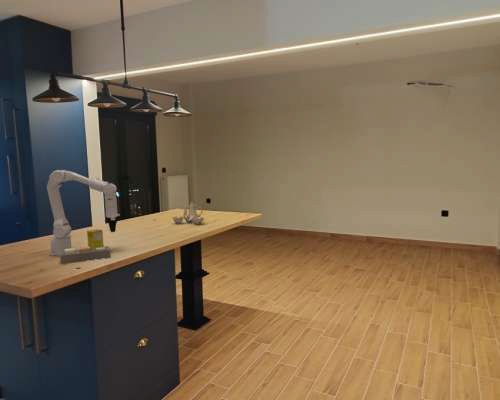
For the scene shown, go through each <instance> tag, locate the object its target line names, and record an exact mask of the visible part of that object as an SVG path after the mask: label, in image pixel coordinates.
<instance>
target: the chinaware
mask: <svg viewBox="0 0 500 400" xmlns="http://www.w3.org/2000/svg"><path fill="white" fill-rule="evenodd" d="M187 206H188V208H187ZM183 207H184V211H183V216H181V215H180V216H174V217H171V219H173V220H172V221H173V222H174V223H175V224H176V225H181V223H183V220H185V222H187V223H188V225H196V226H201V225H203V223H204V222H203V221H206V219H205V218H204V217H203V216H201V215H202V213H203V208H202V207H200V206H198V207H197V204H195V203H194V202H193V201H191V202H190V203H189V205H183ZM198 209H200V210H201V212H200V213H199V214H197V213H198V212H197V210H198ZM187 212H188V213H187Z"/></svg>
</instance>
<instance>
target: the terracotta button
mask: <svg viewBox="0 0 500 400" xmlns="http://www.w3.org/2000/svg"><path fill="white" fill-rule="evenodd" d="M79 249H80V251H81V252H88V251H90V246H89V247H88V246H82V247H79Z"/></svg>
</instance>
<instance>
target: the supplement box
mask: <svg viewBox="0 0 500 400" xmlns="http://www.w3.org/2000/svg"><path fill="white" fill-rule="evenodd" d="M86 234H87V247H89V246H90V248H96V247H105V246H104V235H103V230H102V229H99V228H97V229H89V230H87V231H86Z"/></svg>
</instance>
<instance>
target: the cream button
mask: <svg viewBox="0 0 500 400" xmlns="http://www.w3.org/2000/svg"><path fill="white" fill-rule="evenodd" d="M75 250H76V249H75V248H74V247H73V248H71V249H65V254H71V253H75Z"/></svg>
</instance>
